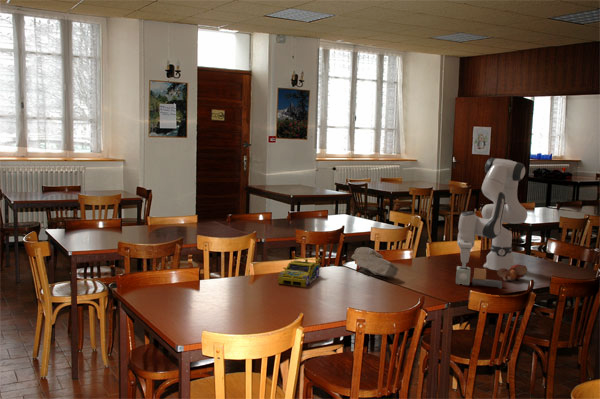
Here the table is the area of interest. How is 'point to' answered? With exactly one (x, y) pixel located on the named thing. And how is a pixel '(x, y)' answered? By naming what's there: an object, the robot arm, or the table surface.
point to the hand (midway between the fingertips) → (463, 267)
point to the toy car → (299, 272)
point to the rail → (490, 283)
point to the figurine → (512, 272)
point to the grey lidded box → (463, 276)
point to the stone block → (374, 262)
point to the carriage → (479, 276)
